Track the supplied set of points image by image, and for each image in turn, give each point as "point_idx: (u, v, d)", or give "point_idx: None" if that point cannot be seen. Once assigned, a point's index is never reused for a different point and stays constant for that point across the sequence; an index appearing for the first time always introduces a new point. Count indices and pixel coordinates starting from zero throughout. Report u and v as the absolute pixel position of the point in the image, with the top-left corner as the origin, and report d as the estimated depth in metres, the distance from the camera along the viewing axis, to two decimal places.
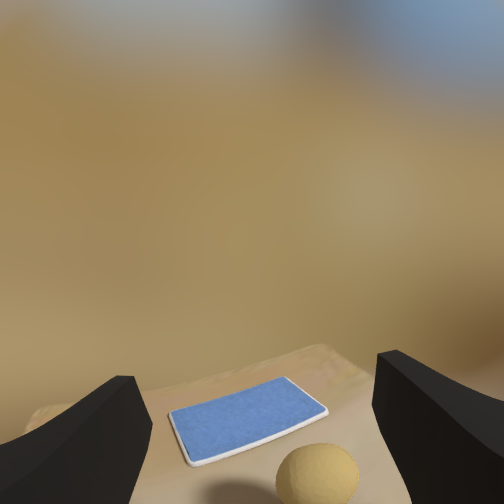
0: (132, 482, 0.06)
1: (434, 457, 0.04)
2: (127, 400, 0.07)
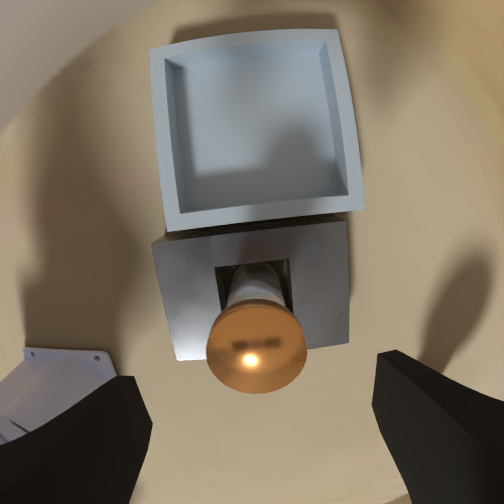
0: (131, 482, 0.06)
1: (434, 457, 0.04)
2: (127, 400, 0.07)
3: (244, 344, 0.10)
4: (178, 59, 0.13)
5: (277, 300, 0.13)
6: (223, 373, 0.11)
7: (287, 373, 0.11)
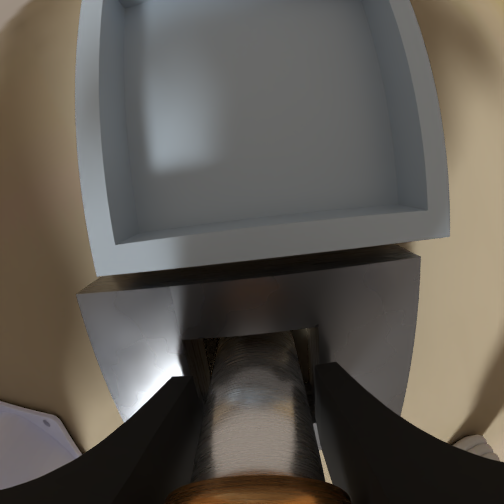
0: None
1: (351, 482, 0.04)
2: (189, 402, 0.07)
3: None
4: None
5: (301, 433, 0.05)
6: None
7: None
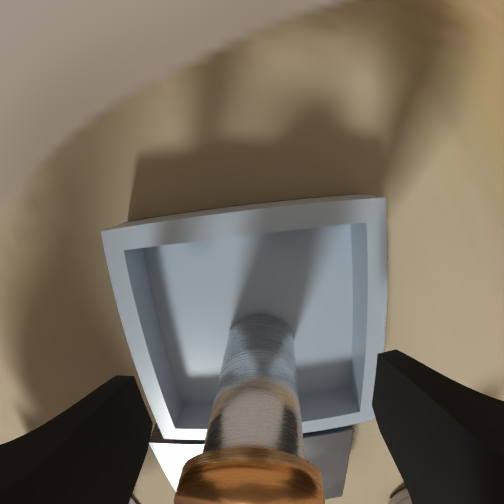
0: (131, 482, 0.06)
1: (434, 457, 0.04)
2: (127, 400, 0.07)
3: None
4: None
5: (288, 418, 0.07)
6: None
7: None
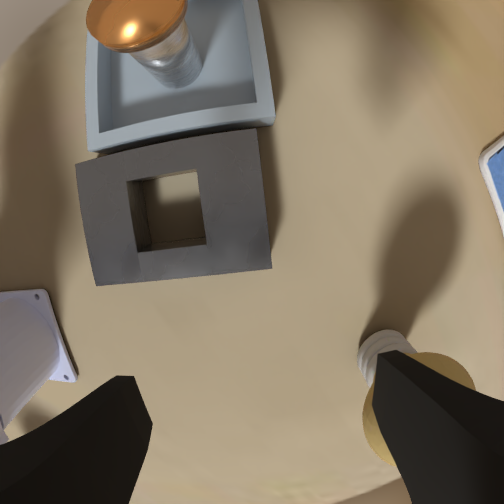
0: (131, 482, 0.06)
1: (434, 457, 0.04)
2: (127, 400, 0.07)
3: None
4: None
5: None
6: (98, 28, 0.07)
7: (161, 12, 0.07)
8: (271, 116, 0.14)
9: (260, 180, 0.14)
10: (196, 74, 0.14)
